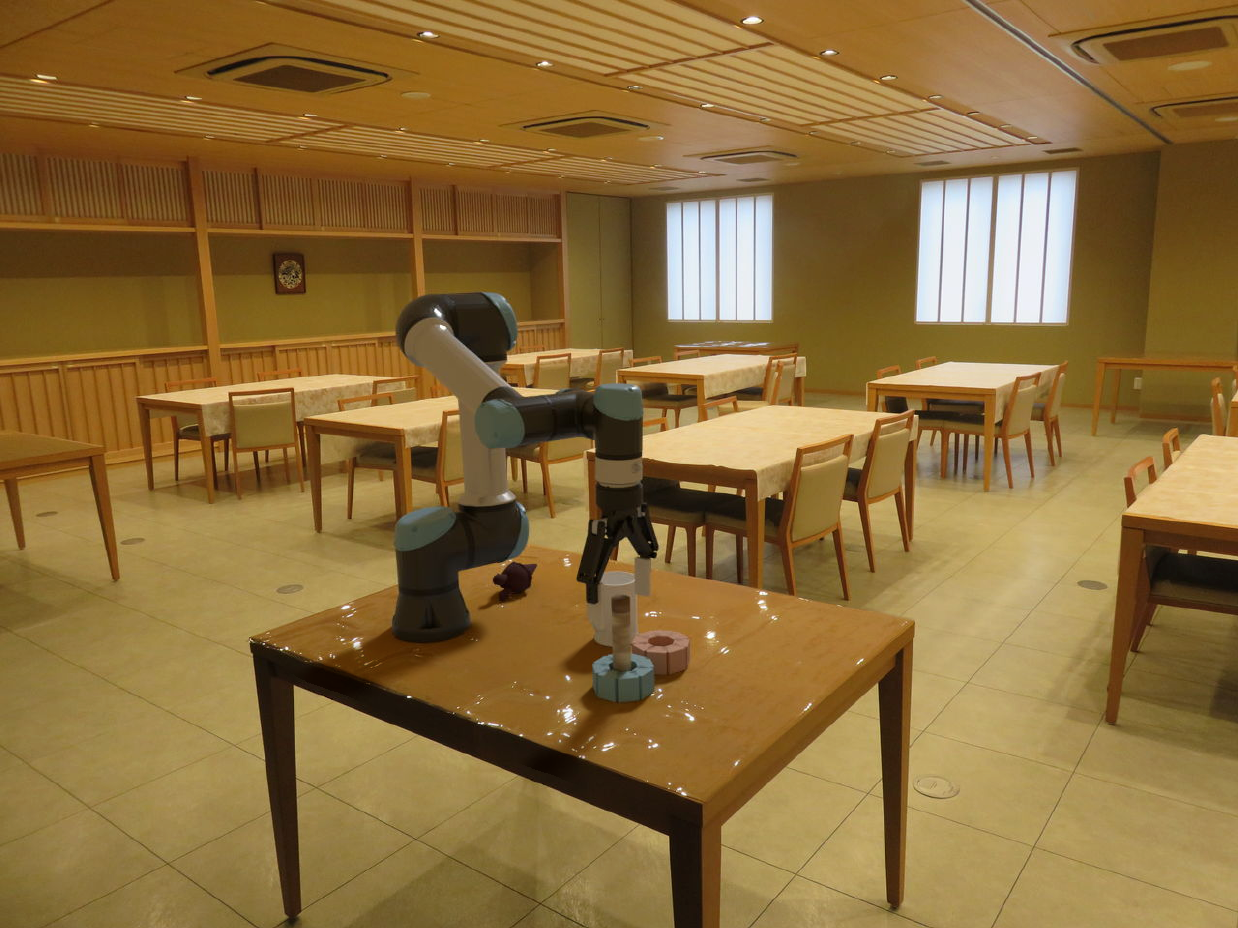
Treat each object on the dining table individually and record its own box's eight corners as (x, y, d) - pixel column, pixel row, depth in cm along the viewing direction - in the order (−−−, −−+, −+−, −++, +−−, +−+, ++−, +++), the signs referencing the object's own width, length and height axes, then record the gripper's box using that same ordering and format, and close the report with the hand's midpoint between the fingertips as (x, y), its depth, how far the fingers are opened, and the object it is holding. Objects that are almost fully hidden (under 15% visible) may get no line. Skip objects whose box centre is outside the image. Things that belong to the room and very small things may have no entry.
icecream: (519, 551, 205) (478, 576, 193) (544, 548, 201) (505, 573, 189) (528, 580, 206) (488, 606, 194) (553, 577, 202) (515, 604, 190)
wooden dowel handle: (609, 690, 150) (607, 599, 147) (620, 683, 152) (618, 593, 149) (625, 694, 148) (623, 602, 145) (635, 687, 151) (633, 596, 147)
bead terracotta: (628, 672, 157) (628, 650, 156) (639, 649, 166) (638, 628, 165) (684, 676, 155) (684, 654, 154) (692, 652, 164) (692, 632, 163)
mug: (605, 656, 163) (604, 593, 161) (572, 644, 169) (570, 583, 166) (648, 636, 172) (647, 576, 169) (615, 625, 177) (613, 567, 175)
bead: (582, 692, 149) (581, 669, 149) (615, 670, 157) (615, 649, 156) (631, 707, 144) (631, 683, 143) (663, 683, 152) (663, 661, 151)
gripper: (592, 502, 131) (594, 638, 136) (679, 469, 151) (678, 589, 156) (551, 495, 135) (554, 627, 140) (641, 464, 155) (642, 580, 160)
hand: (620, 607), depth 148 cm, fingers open, 13 cm apart
